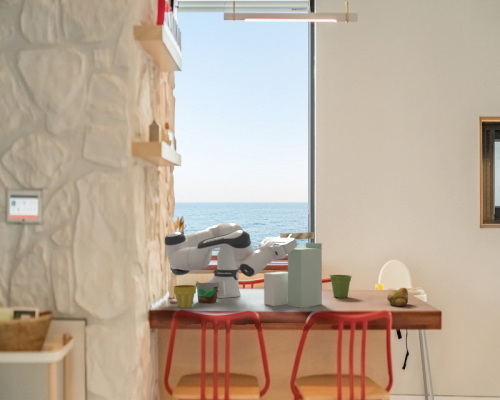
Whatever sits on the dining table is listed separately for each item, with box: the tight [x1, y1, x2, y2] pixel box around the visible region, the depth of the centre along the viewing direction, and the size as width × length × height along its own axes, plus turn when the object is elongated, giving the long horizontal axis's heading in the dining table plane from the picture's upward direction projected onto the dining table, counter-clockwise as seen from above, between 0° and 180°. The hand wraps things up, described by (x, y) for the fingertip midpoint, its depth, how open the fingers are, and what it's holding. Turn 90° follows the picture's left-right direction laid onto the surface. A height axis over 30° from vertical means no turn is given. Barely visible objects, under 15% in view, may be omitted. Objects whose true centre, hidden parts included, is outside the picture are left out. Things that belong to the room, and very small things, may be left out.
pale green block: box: [287, 242, 323, 309], centre depth 248 cm, size 14×9×30 cm, turn 130°
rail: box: [279, 231, 315, 240], centre depth 245 cm, size 20×3×3 cm, turn 130°
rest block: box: [263, 271, 288, 307], centre depth 251 cm, size 12×7×15 cm, turn 130°
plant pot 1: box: [173, 284, 197, 309], centre depth 243 cm, size 10×10×10 cm
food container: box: [195, 281, 219, 304], centre depth 254 cm, size 12×6×10 cm, turn 70°
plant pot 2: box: [329, 274, 353, 299], centre depth 271 cm, size 12×12×11 cm
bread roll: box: [387, 287, 409, 307], centre depth 248 cm, size 13×10×8 cm
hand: (288, 235), depth 241 cm, fingers closed on rail, 3 cm apart
